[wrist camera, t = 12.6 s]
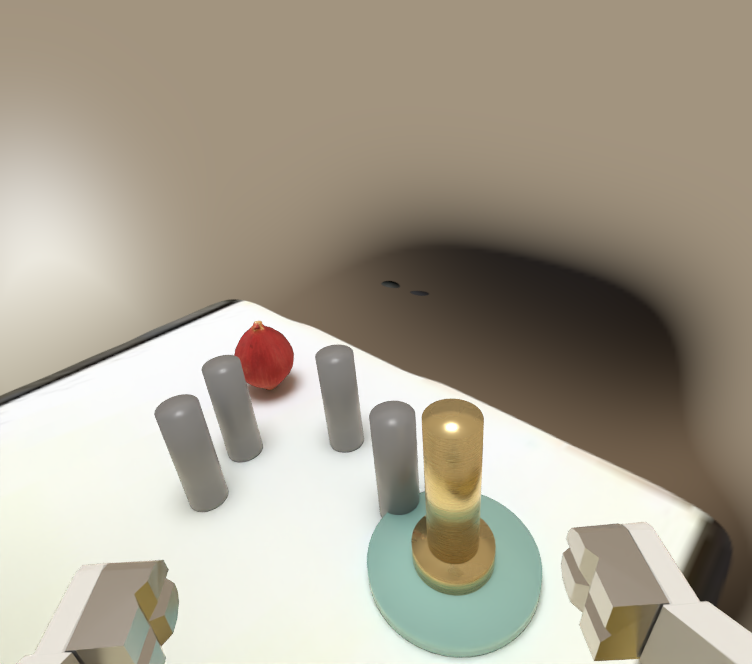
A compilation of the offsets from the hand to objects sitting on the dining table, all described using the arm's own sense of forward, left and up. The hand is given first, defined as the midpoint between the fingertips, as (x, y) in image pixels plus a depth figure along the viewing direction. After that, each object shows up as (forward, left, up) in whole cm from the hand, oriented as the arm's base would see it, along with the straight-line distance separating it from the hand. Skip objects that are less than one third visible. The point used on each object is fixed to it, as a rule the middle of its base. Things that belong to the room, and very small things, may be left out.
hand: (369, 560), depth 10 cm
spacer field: (-6, +23, -21) cm, 31 cm away
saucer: (+4, +14, -21) cm, 25 cm away
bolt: (+4, +14, -20) cm, 24 cm away
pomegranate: (-11, +36, -21) cm, 43 cm away
